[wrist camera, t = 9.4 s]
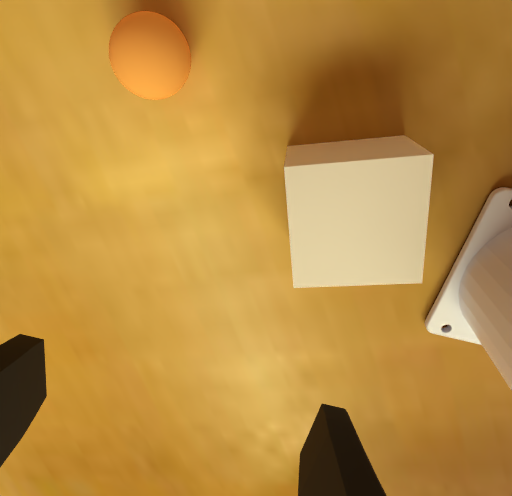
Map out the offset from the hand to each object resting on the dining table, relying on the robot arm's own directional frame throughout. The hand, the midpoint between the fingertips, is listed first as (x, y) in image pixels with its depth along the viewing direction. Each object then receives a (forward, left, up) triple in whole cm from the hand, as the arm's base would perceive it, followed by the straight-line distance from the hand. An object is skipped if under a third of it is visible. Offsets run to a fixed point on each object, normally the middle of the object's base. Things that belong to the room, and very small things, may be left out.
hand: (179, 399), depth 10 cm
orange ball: (+4, -7, -9) cm, 12 cm away
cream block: (-5, -3, -10) cm, 12 cm away
